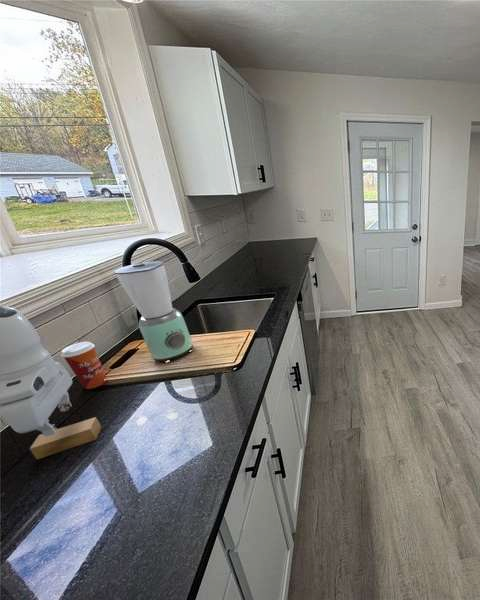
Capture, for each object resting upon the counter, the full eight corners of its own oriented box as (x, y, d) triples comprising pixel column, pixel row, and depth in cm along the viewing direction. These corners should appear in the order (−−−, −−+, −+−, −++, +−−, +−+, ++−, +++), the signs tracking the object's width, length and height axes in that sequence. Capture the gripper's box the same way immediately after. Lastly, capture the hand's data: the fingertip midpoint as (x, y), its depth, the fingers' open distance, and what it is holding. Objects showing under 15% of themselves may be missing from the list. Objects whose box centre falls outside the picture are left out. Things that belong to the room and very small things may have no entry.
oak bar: (36, 459, 75) (29, 448, 73) (45, 445, 79) (38, 434, 77) (96, 439, 79) (90, 429, 78) (101, 427, 83) (96, 416, 82)
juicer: (204, 350, 118) (172, 260, 105) (165, 369, 108) (124, 272, 94) (180, 339, 128) (147, 256, 114) (141, 356, 117) (101, 266, 104)
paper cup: (96, 390, 99) (76, 352, 93) (73, 391, 99) (51, 354, 94) (117, 375, 106) (99, 339, 101) (95, 376, 106) (76, 340, 101)
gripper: (31, 358, 78) (59, 401, 84) (-17, 405, 62) (21, 455, 67) (65, 350, 81) (89, 392, 86) (27, 392, 64) (61, 442, 70)
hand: (59, 420), depth 77 cm, fingers open, 8 cm apart
